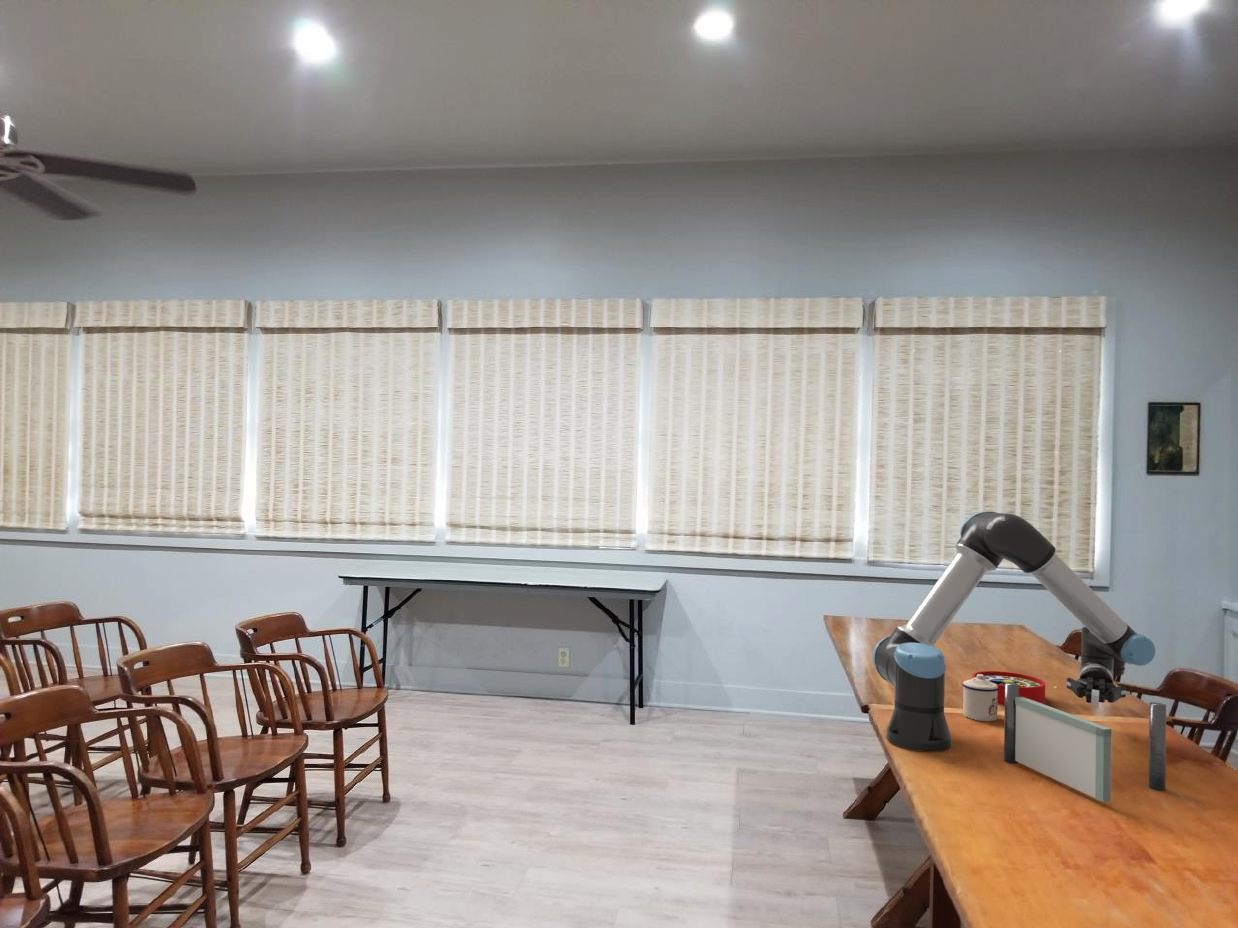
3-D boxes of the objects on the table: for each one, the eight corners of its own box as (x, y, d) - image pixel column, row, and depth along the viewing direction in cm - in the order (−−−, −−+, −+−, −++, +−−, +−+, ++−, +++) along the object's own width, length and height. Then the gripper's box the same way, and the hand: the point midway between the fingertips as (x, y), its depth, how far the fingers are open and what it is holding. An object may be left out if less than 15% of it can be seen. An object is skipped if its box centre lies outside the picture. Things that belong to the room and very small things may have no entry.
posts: (1003, 761, 186) (1004, 684, 186) (1004, 758, 189) (1005, 681, 189) (1165, 791, 170) (1166, 706, 170) (1165, 787, 172) (1165, 703, 172)
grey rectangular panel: (1014, 760, 184) (1015, 697, 184) (1021, 759, 185) (1022, 696, 185) (1102, 802, 161) (1103, 729, 161) (1110, 801, 161) (1111, 728, 162)
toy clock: (1040, 674, 249) (1049, 690, 230) (1040, 693, 248) (1049, 710, 230) (970, 668, 256) (974, 682, 237) (970, 686, 256) (973, 702, 237)
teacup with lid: (996, 723, 215) (996, 680, 216) (960, 718, 220) (960, 675, 220) (1000, 713, 226) (1001, 671, 226) (965, 707, 230) (966, 667, 231)
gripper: (1125, 700, 201) (1127, 723, 181) (1066, 691, 208) (1062, 712, 188) (1126, 670, 201) (1129, 690, 181) (1067, 662, 208) (1063, 680, 188)
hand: (1095, 701), depth 185 cm, fingers closed
